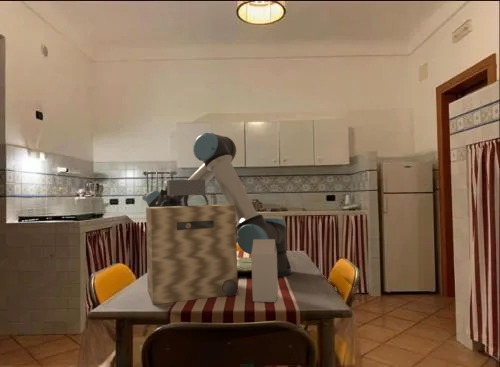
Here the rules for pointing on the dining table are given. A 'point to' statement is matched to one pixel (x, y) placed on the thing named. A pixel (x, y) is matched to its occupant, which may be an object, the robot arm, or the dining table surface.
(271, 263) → the milk carton
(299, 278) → the dining table surface
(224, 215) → the zigzag patterned box
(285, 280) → the dining table surface
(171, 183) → the t handle
